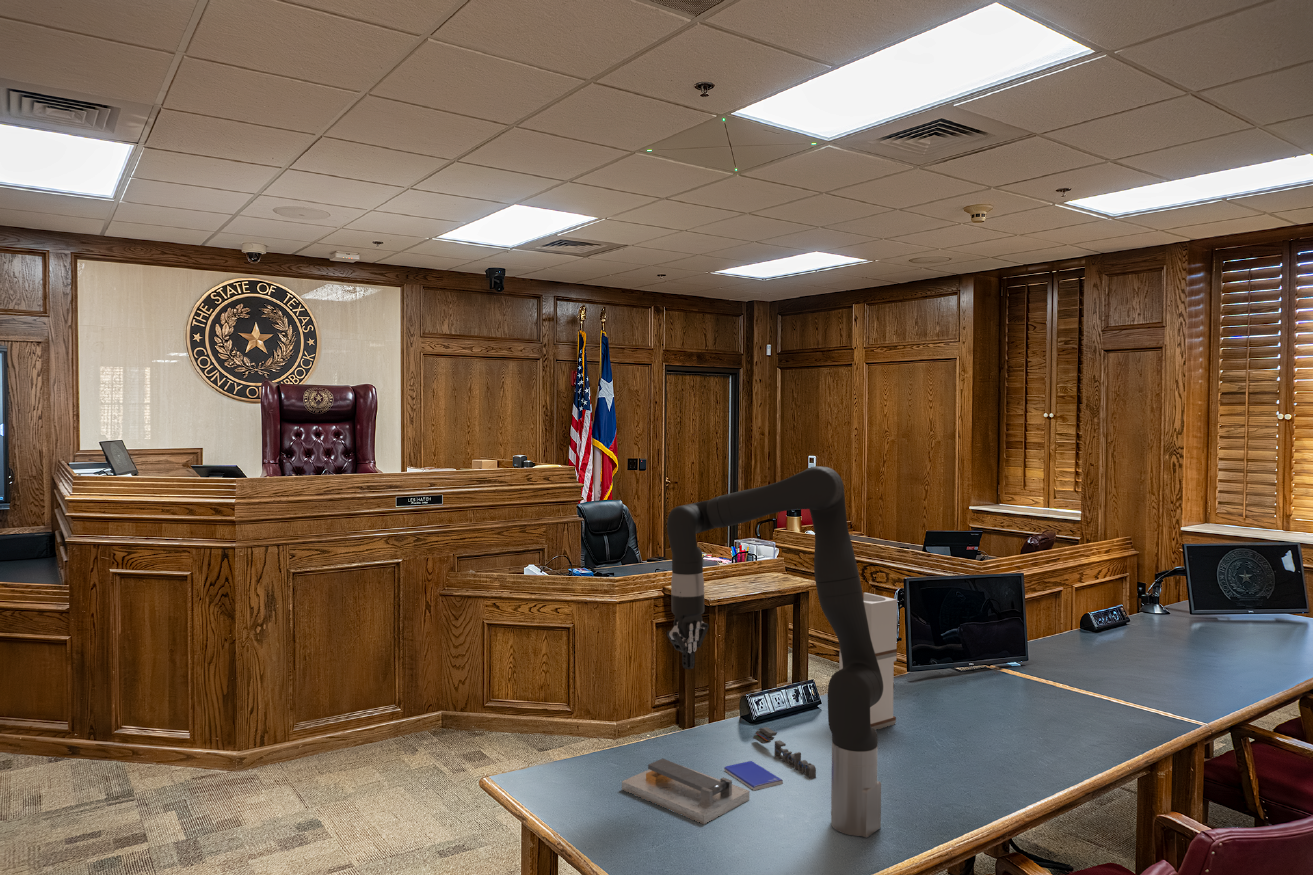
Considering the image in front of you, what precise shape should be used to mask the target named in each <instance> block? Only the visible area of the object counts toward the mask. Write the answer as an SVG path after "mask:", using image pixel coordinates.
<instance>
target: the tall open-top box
mask: <svg viewBox="0 0 1313 875" xmlns="http://www.w3.org/2000/svg"><path fill="white" fill-rule="evenodd" d="M863 600H864V606H865V611H866V616H867V621H868V627H869V632H870V637H871V641H872V645H873V648H874V652H875V655H876V658H877V662H878V665H879V668H880V672H881V675H882V680H883V694H882V696H881V698H880V700H879V701H878V702H877V703H876V704H875V705H873V706H872V707H870V723H871V727H872V728H874V729H875V730H876V729H878V730H880V729H883V727H884V728H887V726H888V727H891V726H894V724H895V723H896V724H897V717H896V716H895V715H894V680H895V679H894V674H895V673H894V670H895V669H894V668H895V667H894V664H895V663H894V662H897V654H898V653H897V651H898V650H897V649H898V648H897V643H898V641H897V639H898V599H896V598H892V597H888V596H883V595H878V594H873V593H870V592H863ZM838 652H839V653H838V654H839V658H838V659H839V660H838V661H839V664H838V666H839V668H838V669H839V670H841V669H843V663H842V656H841V650H840V649H839V650H838ZM839 670H838V671H839ZM896 724H895V725H896ZM890 725H891V726H890ZM876 731H877V730H876Z"/></svg>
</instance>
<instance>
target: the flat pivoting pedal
mask: <svg viewBox="0 0 1313 875" xmlns="http://www.w3.org/2000/svg"><path fill="white" fill-rule="evenodd" d="M647 766H648V767H647V770H652V771H654V772H656V773H659V774H661V775H663V776H666V777H668V778H671V779H673V780H675V781H678V782H680V783H682V784H685V785H687V786H689V787H692V788H694V789H696V790H699V791H701V788H703V787H705V788H708V789H710V790H713V796H714V795H716V794H718V793H720V792H722V791H724V790H726V788H727V785H726V783H725V782H724V781H722V782H719V781H717V780H715V779H712V778H710V777H707V776H705V775H706V774H705V775H702V774H700V773H701V772H700V773H697V772H698V771H697V772H695V771H696V770H695V771H692V770H693V769H692V770H690V769H691V768H689V767H687V768H685V767H686V766H684V765H681V766H680V764H678V763H676V764H675V762H673V761H671V760H667V759H665V758H661V759H658V760H656V761H653V762H651V763H649V764H648V765H647ZM683 766H684V767H683ZM688 768H689V769H688Z"/></svg>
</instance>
